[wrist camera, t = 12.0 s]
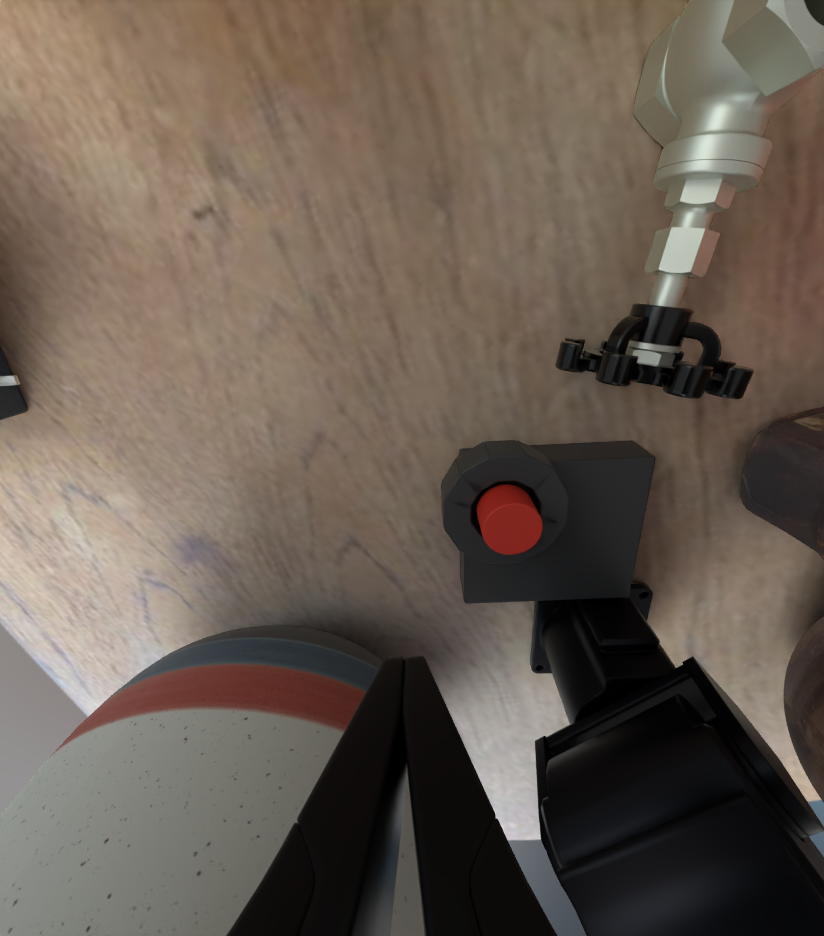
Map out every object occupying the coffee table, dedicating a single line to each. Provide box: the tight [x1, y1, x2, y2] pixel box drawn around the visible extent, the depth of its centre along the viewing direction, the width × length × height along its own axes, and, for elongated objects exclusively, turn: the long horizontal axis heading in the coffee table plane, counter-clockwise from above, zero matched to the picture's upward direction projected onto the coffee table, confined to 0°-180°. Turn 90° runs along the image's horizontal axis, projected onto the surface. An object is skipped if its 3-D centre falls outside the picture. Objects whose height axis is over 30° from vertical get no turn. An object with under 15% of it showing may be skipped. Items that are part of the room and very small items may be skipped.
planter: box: [0, 626, 425, 936], centre depth 18 cm, size 20×20×21 cm
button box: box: [441, 440, 656, 603], centre depth 20 cm, size 9×10×4 cm
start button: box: [477, 484, 543, 555], centre depth 17 cm, size 2×2×2 cm
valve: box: [555, 0, 824, 399], centre depth 14 cm, size 7×7×12 cm
